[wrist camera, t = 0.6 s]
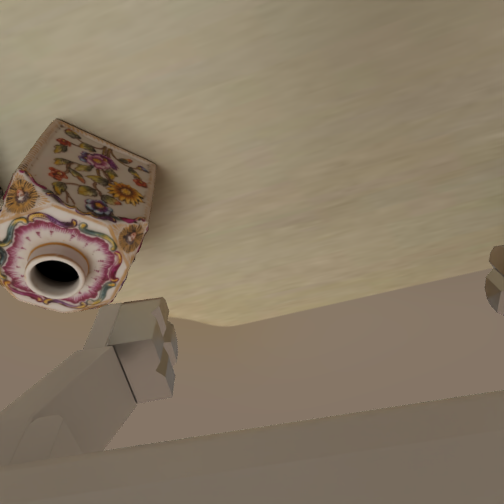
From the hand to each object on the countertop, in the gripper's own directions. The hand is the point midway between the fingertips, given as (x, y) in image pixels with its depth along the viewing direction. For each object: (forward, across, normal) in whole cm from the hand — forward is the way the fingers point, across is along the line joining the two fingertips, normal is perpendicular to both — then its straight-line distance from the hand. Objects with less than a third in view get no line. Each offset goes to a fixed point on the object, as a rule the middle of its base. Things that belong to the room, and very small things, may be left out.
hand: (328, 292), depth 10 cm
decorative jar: (+39, +19, +8) cm, 44 cm away
